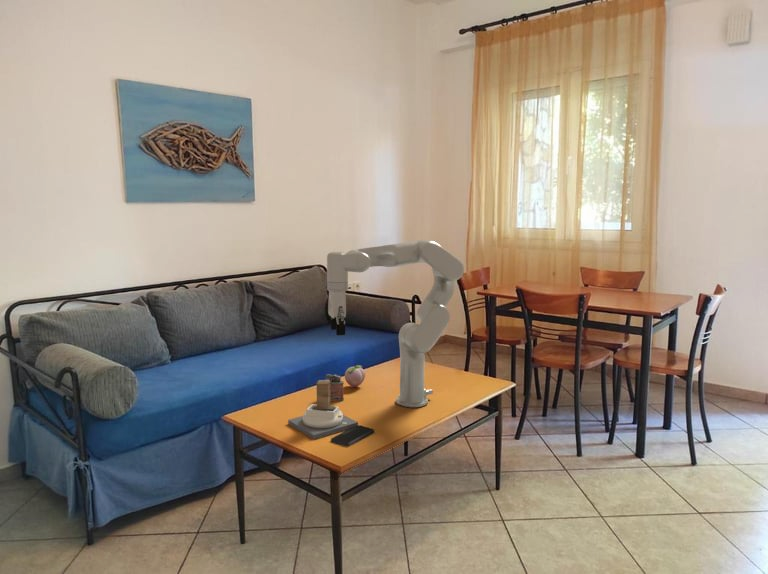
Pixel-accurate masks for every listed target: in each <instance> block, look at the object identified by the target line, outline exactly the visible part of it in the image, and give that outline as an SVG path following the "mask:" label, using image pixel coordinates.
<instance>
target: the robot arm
mask: <svg viewBox="0 0 768 574" xmlns="http://www.w3.org/2000/svg"><path fill="white" fill-rule="evenodd" d="M421 263H422V264H423V263H425V264H427V265H428V266H429V267H430V268H431V270H432V274H433V285H432V287H431V289H430V290H429V292H428V293H427V295H426V296H425V298H424V299H423V300H422V302H421V303H420V305H419V306H418V308H417V310H416V317H417V320H418V321H420V323H419V324H418V323H416V322H408V323H404V325H402V326H401V327H400V329H399V331H398V332H399V333H398V343H399V345H398V346H399V356H400V357H399V359H400V360H399V361H400V365H399V396H397V397H396V399H395V403H396V404H397V405H398V406H400V405H401V406H400V407H405V408H420V407H421V408H422V407H425V406H427V405H428V402H429V399H428V398H427V396H428V395H433V393H434V392H433V391H434V390H433V389H431V388H430V389H427V390H426V388H425V369H426V368H425V363H426V362H425V361H426V357H425V354H426V353H427V352H429V351H430V350H431V349H432V348H433V347H434V346H435V344H436V343H437V342H438V340H439V339H440V338H441V336H442V334H443V333H444V332H445V330H446V328H447V327H448V325H449V322H450V319H451V318H450V316H451V314H450V311H449V309H448V307H447V306H448V305H449V303H450V301H451V299H453V298H452V297H453V295H454V292H455V282H456V281H458V280H460V279H461V278H462V277H463V275H464V272H465V267H464V264H463V262H462V261H461V260H460V259H458V257H456V256H455V255H453V254H452V253H451V252H449V251H448V250H446V248H444V247H443V246H442V245H440V244H439V243H437V242H435V241H433V240H426V239H424V240H423V239H421V240H413V241H406V242H401V243H394V244H386V245H380V246H371V247H363V248H356V249H351V250H349V251H347V252H344V251H343V252H341V251H333V252H328V253H327V255H326V272H327V273H326V275H327V276H326V277H327V278H326V279H327V280H326V281H327V282H326V284H327V285H326V289H327V290H326V291H328V306H327V307H328V308H327V309H328V310H327V312H328V313H327V314H328V315H329V316H330V329H331V330H336V332H335V333H336V336H346V315H347V298H346V297H347V296H346V292H347V291H348V290H349V273H350V272H351V273H364V272H366V271H367V270H369V269H370V268H371V267H388V268H395V267H403V266H408V265H415V264H421Z"/></svg>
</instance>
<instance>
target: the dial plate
mask: <svg viewBox="0 0 768 574" xmlns="http://www.w3.org/2000/svg"><path fill="white" fill-rule="evenodd" d="M287 421H288V422H287V423H288V425H289V426H290V427H293V428H294V429H296V430H297V431H299V432H301V433H303V434H304V435H306V436H307V437H309V438H310V439H312V440H317V439H320V438H323V437H326V436H330V435H334V434H336V433H340V432H341V433H342V432H345V431H347V430H349V429H351V428H352V427H354V426H357V425H359V422H358V421H356V420H354V419H353V418H351V417H348V416H347V415H345V414H343V421H342V423H341V424H339V425H337V426H334V427H330V428H312V427H308V426H306V425H305V424H303V415H302V416H298V417H295V418H290V419H288V420H287Z"/></svg>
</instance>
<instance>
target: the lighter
mask: <svg viewBox="0 0 768 574" xmlns="http://www.w3.org/2000/svg"><path fill="white" fill-rule="evenodd" d="M325 379H326V380H330V401H332V402H333V401H334V402H344V400H345V397H344V384H345V382H344V381H343V380H341V376H340V375H337V374H330V373H329V374H326V375H325Z"/></svg>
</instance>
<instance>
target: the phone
mask: <svg viewBox="0 0 768 574" xmlns="http://www.w3.org/2000/svg"><path fill="white" fill-rule="evenodd" d="M374 433H375V429H374V428H370V427H367V426H363V425H360V424H358V425H357V426H354V427H352V428H351V429H347V430H344V431H342V432H341V433H339V434H336V435H335V436H332V437H331V438H330V442H331V443H333V444H337V445H340V446H343V447H347V448H348V447H351V446H354V445H355V444H357V443H358V442H360V441H362V440H364V439H366V438H367V437H370V436H372V435H373V434H374Z"/></svg>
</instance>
